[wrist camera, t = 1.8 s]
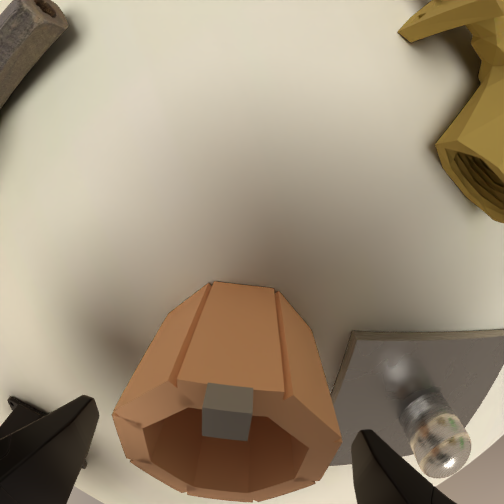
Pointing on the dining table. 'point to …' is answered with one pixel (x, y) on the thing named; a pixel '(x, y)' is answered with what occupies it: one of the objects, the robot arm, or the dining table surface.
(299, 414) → the collar
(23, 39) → the pipe
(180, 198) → the dining table surface
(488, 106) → the ball valve
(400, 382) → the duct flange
